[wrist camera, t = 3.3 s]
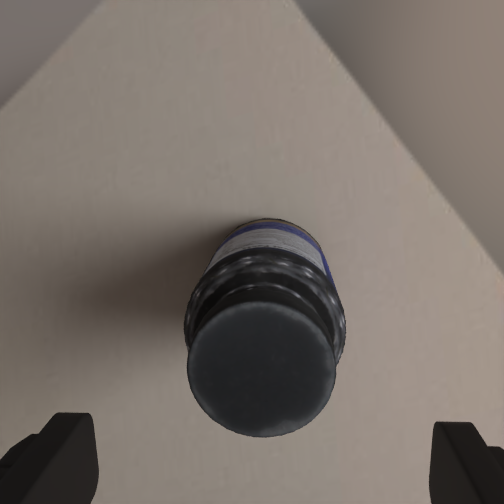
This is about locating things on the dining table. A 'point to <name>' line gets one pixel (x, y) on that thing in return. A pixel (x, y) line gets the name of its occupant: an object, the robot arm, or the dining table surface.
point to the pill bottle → (264, 330)
